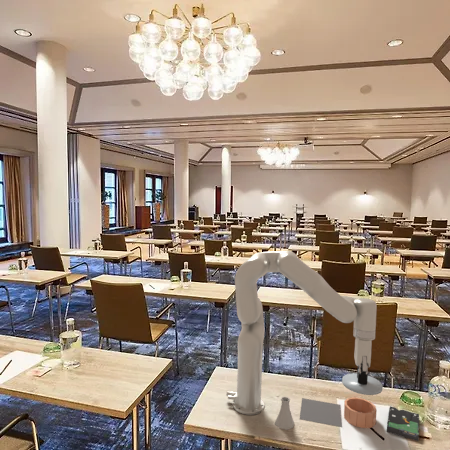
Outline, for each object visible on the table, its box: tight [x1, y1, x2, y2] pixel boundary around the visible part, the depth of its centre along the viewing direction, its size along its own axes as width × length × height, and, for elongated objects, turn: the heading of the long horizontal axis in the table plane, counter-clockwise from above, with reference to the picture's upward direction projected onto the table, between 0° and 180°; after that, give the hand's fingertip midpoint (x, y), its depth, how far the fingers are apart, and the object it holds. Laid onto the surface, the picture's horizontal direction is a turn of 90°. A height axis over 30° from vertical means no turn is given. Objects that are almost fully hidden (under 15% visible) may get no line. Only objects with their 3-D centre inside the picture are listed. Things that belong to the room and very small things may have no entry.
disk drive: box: [386, 405, 420, 442], centre depth 131 cm, size 10×3×15 cm
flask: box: [274, 396, 295, 431], centre depth 129 cm, size 7×7×10 cm
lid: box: [341, 369, 384, 396], centre depth 132 cm, size 14×14×6 cm
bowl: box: [343, 396, 377, 429], centre depth 133 cm, size 11×11×6 cm
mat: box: [299, 397, 343, 428], centre depth 137 cm, size 15×15×1 cm
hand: (361, 380), depth 132 cm, fingers closed on lid, 3 cm apart
